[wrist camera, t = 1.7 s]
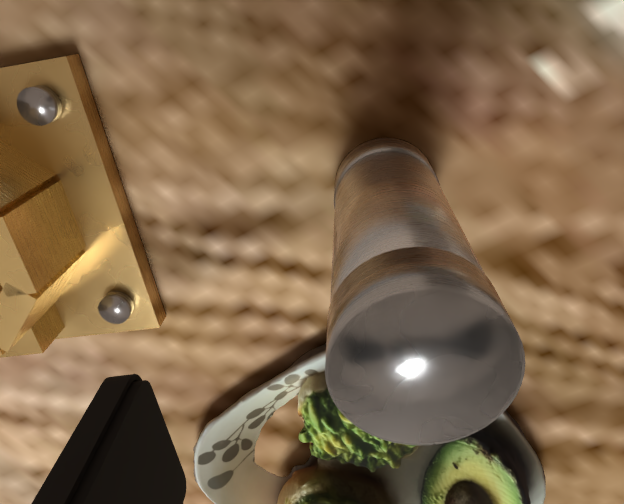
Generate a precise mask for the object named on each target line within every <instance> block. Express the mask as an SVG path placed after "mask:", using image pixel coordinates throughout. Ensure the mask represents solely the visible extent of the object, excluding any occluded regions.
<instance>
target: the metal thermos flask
mask: <svg viewBox="0 0 624 504" xmlns="http://www.w3.org/2000/svg"><path fill="white" fill-rule="evenodd" d="M334 208H335V219H334V240H333V261H332V282H331V303H330V307H329V312H328V323H327V341H326V360H325V378H326V384H327V387H328V391H329V393H330V396H331V398H332V400H333V402H334V403H335V405H336V406H337V408H338V409H339V411H340V412H341V413H342V414H343V415H344V416H345V417H346V418H347V419H348V420H349V421H350V422H351V423H352V424H354V425H355V426H357V427H358V428H360V429H361V430H363V431H365V432H366V433H368V434H370V435H372V436H375V437H377V438H380V439H383V440H386V441H390V442H393V443H399V444H405V445H435V444H442V443H447V442H451V441H455V440H458V439H461V438H464V437H467V436H469V435H471V434H474V433H476V432H478V431H479V430H481V429H483V428H485V427H486V426H488V425H489V424H490V423H492V422H493V421H495V420H496V419H497V418H498V417H499V416H500V415H501V414H502V413H503V412H504V411H505V410H506V409H507V408H508V407H509V405H510V404H511V403H512V401H513V400H514V398H515V397H516V395H517V393H518V391H519V389H520V386H521V384H522V380H523V376H524V370H525V354H524V349H523V345H522V342H521V339H520V337H519V335H518V332H517V331H516V329H515V327H514V325H513V323H512V321H511V319H510V317H509V315H508V313H507V311H506V309H505V307H504V305H503V304H502V302H501V300H500V298H499V296H498V294H497V292H496V290H495V288H494V286H493V285H492V283H491V282H490V280H489V279H488V277H487V276H486V275H485V274H484V272H483V270H482V268H481V266H480V264H479V262H478V260H477V258H476V256H475V254H474V252H473V250H472V248H471V246H470V244H469V242H468V240H467V238H466V236H465V234H464V232H463V230H462V229H461V227H460V225H459V223H458V221H457V219H456V217H455V215H454V213H453V211H452V209H451V207H450V205H449V203H448V201H447V199H446V197H445V195H444V193H443V191H442V189H441V187H440V184H439V181H438V179H437V177H436V175H435V173H434V171H433V169H432V167H431V165H430V163H429V161H428V160H427V158H426V156H425V155H424V154H423V153H422V152H421V151H420V150H419V149H418V148H417V147H415V146H414V145H412V144H410V143H408V142H406V141H404V140H400V139H396V138H377V139H372V140H369V141H366V142H364V143H362V144H360V145H359V146H357V147H356V148H354V149H353V150H352V151H351V152H350V153H349V154H348V155H347V156H346V157H345V158H344V160H343V161H342V163H341V165H340V167H339V169H338V171H337V174H336V179H335V193H334Z"/></svg>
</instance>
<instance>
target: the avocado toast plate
mask: <svg viewBox="0 0 624 504" xmlns="http://www.w3.org/2000/svg"><path fill="white" fill-rule="evenodd" d="M325 360H326V344H324V345H322V346H319V347H317V348H315V349H313V350H310V351H308V352H307V353H305V354H304V355H302V356H301V357H300V358H299V359H298V360H297V361H296V362H295V363H294V364H293V365H291V366H290V367H289V368H288V369H287V370H285V371H284V372H282V373H280V374H279V375H277V376H276V377H274V378H272V379H271V380H269V381H267V382H265V383H263V384H262V385H260V386H259V387H257V388H255V389H252V390H251V391H249V392H248V393H247V394H245V395H244V396H242V397H241V398H240V399H239V400H238V401H237V402H236V403H234V404H233V405H231V406H230V407H229V408H227V409H226V410H225V411H224V412H223V413H221V414H220V415H219V416H218V417H216V418H214V419H212V420H211V421H210V422H208V423H207V424H206V426H205V428H204V429H203V431H202V432H201V434H200V437H199V440H198V442H197V443H196V445H195V447H194V476H195V481H196V482H197V483H198V485H199V487H200V488H201V489H202V491H203V492H204V493H205V495H206V496H207V497H208V498H209V499H210V500H211V501H212V502H214V503H215V504H544V500H545V475H544V471H543V468H542V465H541V463H540V460H539V458H538V456H537V454H536V452H535V451H534V450H533V448H532V447H531V446H530V444H529V443H528V441H527V439H526V438H525V436H524V434H523V432H522V430H521V428H520V426H519V425H518V423H517V422H516V421H515V420H514V419H513V418H512V417H511V416H510V415H509V413H508V412H507V411H506V410H505V411H504V412H503V413H502V414H501V415H500V416H499V417H498V418H497V419H496V420H495V421H493V422H492V423H490V424H489V425H488V426H486V427H485V428H483V429H481V430H479V431H478V432H476V433H474V434H471V435H469V436H467V437H464V438H461V439H458V440H455V441H451V442H447V443H442V444H435V445H405V444H399V443H393V442H390V441H386V440H383V439H380V438H377V437H375V436H372V435H370V434H368V433H366V432H365V431H363V430H361V429H360V428H358V427H357V426H355V425H354V424H352V423H351V422H350V421H349V420H348V419H347V418H346V417H345V416H344V415H343V414H342V413H341V412H340V411H339V409H338V408H337V406H336V405H335V403H334V402H333V400H332V398H331V396H330V393H329V391H328V387H327V384H326V378H325ZM296 395H298V415H299V416H301V417H302V419H303V422H304V428H303V429H302V430H301V432H300V433H299V440H300V441H301V442H303V443H306V442H310V451H311V456H310V458H309V460H308V461H307V462H306V463H305V465H299V466H295V467H293V469H292V471H291V472H290V474H289V475H288V476H287V477H283V478H282V477H279V476H276V475H275V474H272V473H270V472H268V471H266V470H265V469H263V468H262V467H260V466H258V465H257V464H256V463H255V462H254V451H255V444H256V441H257V439H258V437H259V434H260V431H261V428H262V427H263V425H264V423H265V422H266V421H267V420H268V419H269V418H270V417H272V415H273V413H274V412H275V411H276V410H277V409H278V408H280V407H281V406H283V405H284V404H286V403H287V402H288V401H289V400H290V399H292V398H293V397H295V396H296Z"/></svg>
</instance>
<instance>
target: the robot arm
mask: <svg viewBox="0 0 624 504" xmlns="http://www.w3.org/2000/svg"><path fill="white" fill-rule="evenodd" d="M185 493H186V478H185V474H184V472H183V469H182V466H181V464H180V461H179V458H178V456H177V453H176V450H175V448H174V445H173V442H172V440H171V437H170V434H169V432H168V429H167V427H166V424H165V421H164V419H163V416H162V413H161V411H160V408H159V405H158V403H157V400H156V397H155V395H154V392H153V389H152V387H151V385H150V383H149V382H148V381H146V380H145V381H142V379H141V377H139V376H138V375H136V374H132V375H123V376H115V377H108V378H106V379H105V380H104V382H103V383H102V385H101V386H100V388H99V390H98V391H97V393H96V395H95V397H94V398H93V400H92V402H91V403H90V405H89V407H88V408H87V410H86V412H85V414H84V415H83V417H82V419H81V420H80V422H79V424H78V426H77V427H76V429H75V431H74V432H73V434H72V436H71V437H70V439H69V441H68V443H67V444H66V446H65V448H64V449H63V451H62V453H61V454H60V456H59V458H58V460H57V461H56V463H55V465H54V466H53V468H52V470H51V472H50V473H49V475H48V477H47V478H46V480H45V482H44V483H43V485H42V487H41V489H40V490H39V492H38V494H37V495H36V497H35V499H34V501H33V502H32V504H183V501H184V498H185Z"/></svg>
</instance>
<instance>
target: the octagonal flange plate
mask: <svg viewBox="0 0 624 504" xmlns="http://www.w3.org/2000/svg"><path fill="white" fill-rule="evenodd" d="M165 317H166V314H165V311H164V308H163V305H162V302H161V299H160V296H159V293H158V290H157V287H156V284H155V281H154V278H153V275H152V272H151V269H150V266H149V263H148V260H147V257H146V254H145V251H144V248H143V245H142V242H141V239H140V236H139V233H138V230H137V227H136V224H135V221H134V218H133V215H132V212H131V209H130V206H129V203H128V200H127V197H126V194H125V191H124V188H123V185H122V182H121V179H120V176H119V173H118V170H117V167H116V164H115V161H114V158H113V155H112V152H111V149H110V146H109V143H108V140H107V137H106V134H105V131H104V128H103V125H102V122H101V119H100V116H99V113H98V110H97V107H96V104H95V101H94V98H93V95H92V92H91V89H90V86H89V83H88V81H87V78H86V75H85V72H84V69H83V66H82V63H81V60H80V57H79V54H74V55H69V56H63V57H58V58H52V59H46V60H41V61H35V62H30V63H24V64H19V65H13V66H8V67H2V68H0V357H10V356H19V355H29V354H38V353H43V352H44V351H45V350H46V349H47V348H48V346H49V345H50V344H51V343H52V342H53V341H54V339H60V338H70V337H79V336H88V335H97V334H106V333H115V332H124V331H133V330H143V329H152V328H160V326H161V324H162V322H163V321H164V319H165Z"/></svg>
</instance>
